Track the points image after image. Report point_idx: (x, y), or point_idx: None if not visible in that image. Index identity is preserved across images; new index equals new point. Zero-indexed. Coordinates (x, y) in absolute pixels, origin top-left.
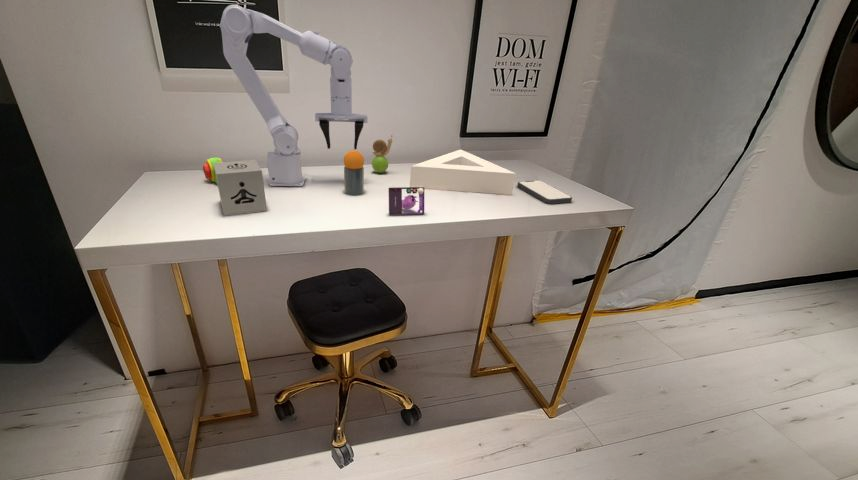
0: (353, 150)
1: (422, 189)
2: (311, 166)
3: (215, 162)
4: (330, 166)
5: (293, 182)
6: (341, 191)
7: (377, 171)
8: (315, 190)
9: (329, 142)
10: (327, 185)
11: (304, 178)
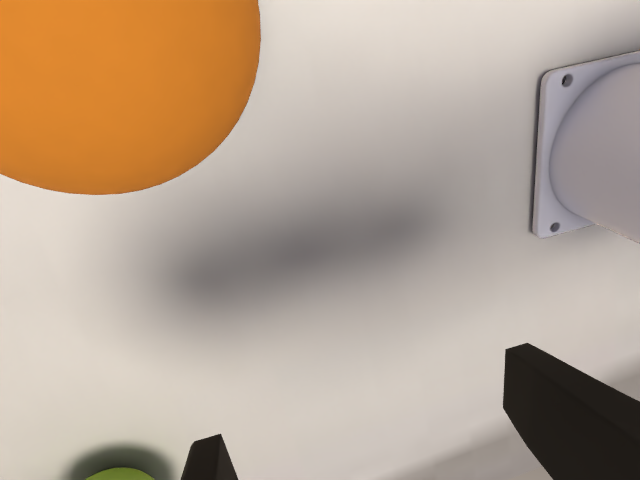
0: (38, 38)
1: None
2: (510, 426)
3: None
4: (420, 460)
5: (608, 77)
6: (260, 31)
7: (124, 468)
8: (449, 13)
9: (558, 400)
10: (386, 148)
11: (539, 208)
